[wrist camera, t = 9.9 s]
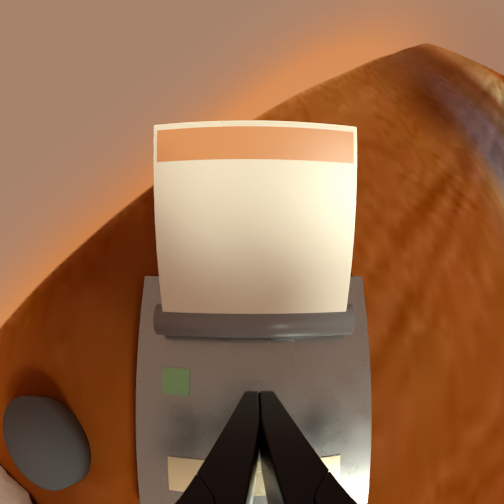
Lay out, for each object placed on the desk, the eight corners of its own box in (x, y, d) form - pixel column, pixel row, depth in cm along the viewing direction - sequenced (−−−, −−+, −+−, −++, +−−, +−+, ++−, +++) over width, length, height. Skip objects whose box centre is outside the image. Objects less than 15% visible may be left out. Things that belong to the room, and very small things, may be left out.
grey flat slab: (361, 505, 13) (366, 510, 12) (145, 506, 12) (140, 512, 11) (356, 281, 19) (362, 275, 18) (149, 281, 19) (144, 275, 18)
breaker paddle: (352, 340, 15) (368, 127, 13) (155, 340, 15) (141, 124, 13) (343, 325, 17) (356, 131, 14) (163, 325, 17) (153, 130, 14)
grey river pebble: (110, 460, 14) (94, 467, 12) (59, 495, 12) (42, 502, 10) (54, 379, 16) (34, 377, 14) (11, 422, 14) (-8, 421, 12)
